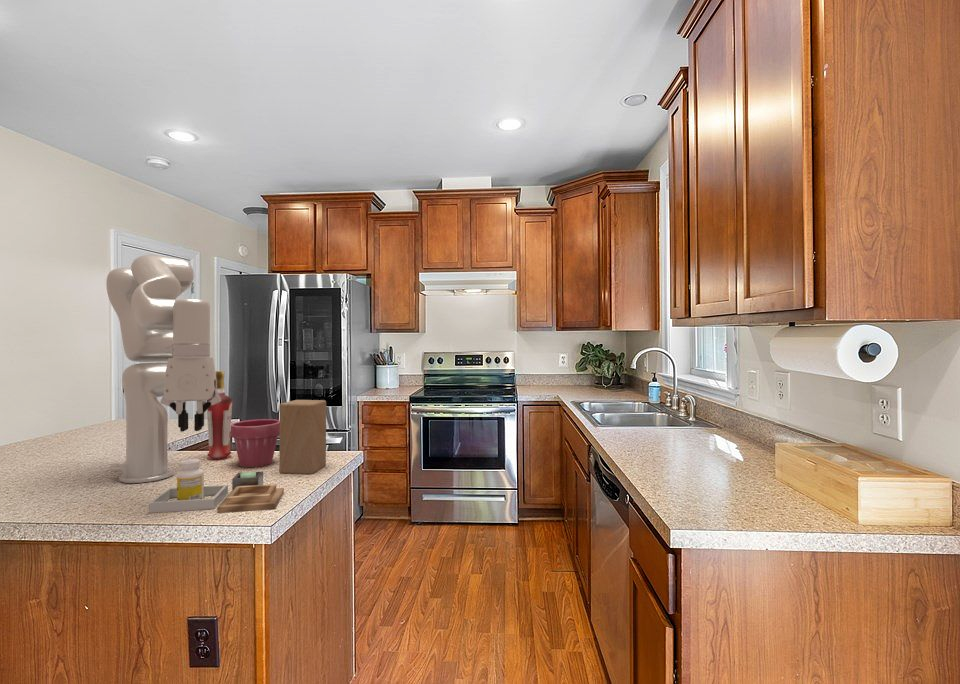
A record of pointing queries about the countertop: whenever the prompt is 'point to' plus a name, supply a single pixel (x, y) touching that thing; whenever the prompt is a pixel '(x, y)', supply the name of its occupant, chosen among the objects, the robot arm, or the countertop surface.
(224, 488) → the frame
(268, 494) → the brown wooden square tray
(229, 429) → the liquor
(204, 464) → the countertop surface
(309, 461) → the wooden block
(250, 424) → the plant pot
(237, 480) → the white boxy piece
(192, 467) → the supplement bottle
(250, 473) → the button
